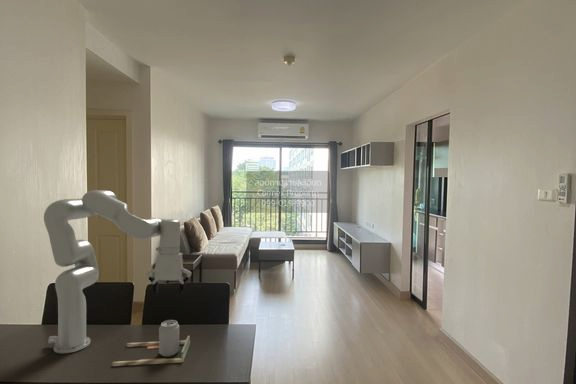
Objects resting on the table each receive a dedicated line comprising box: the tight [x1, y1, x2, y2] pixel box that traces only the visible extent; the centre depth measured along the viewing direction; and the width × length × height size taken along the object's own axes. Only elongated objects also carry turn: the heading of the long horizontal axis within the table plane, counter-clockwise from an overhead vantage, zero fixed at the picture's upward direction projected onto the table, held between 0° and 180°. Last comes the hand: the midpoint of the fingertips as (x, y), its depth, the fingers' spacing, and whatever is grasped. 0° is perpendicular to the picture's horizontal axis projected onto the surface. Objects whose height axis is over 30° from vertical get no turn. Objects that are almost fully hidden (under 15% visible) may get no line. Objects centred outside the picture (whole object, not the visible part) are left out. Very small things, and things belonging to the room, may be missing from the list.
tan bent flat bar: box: [111, 335, 191, 367], centre depth 127 cm, size 25×15×4 cm, turn 97°
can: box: [158, 319, 180, 358], centre depth 128 cm, size 8×8×12 cm
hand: (168, 293), depth 130 cm, fingers open, 9 cm apart
